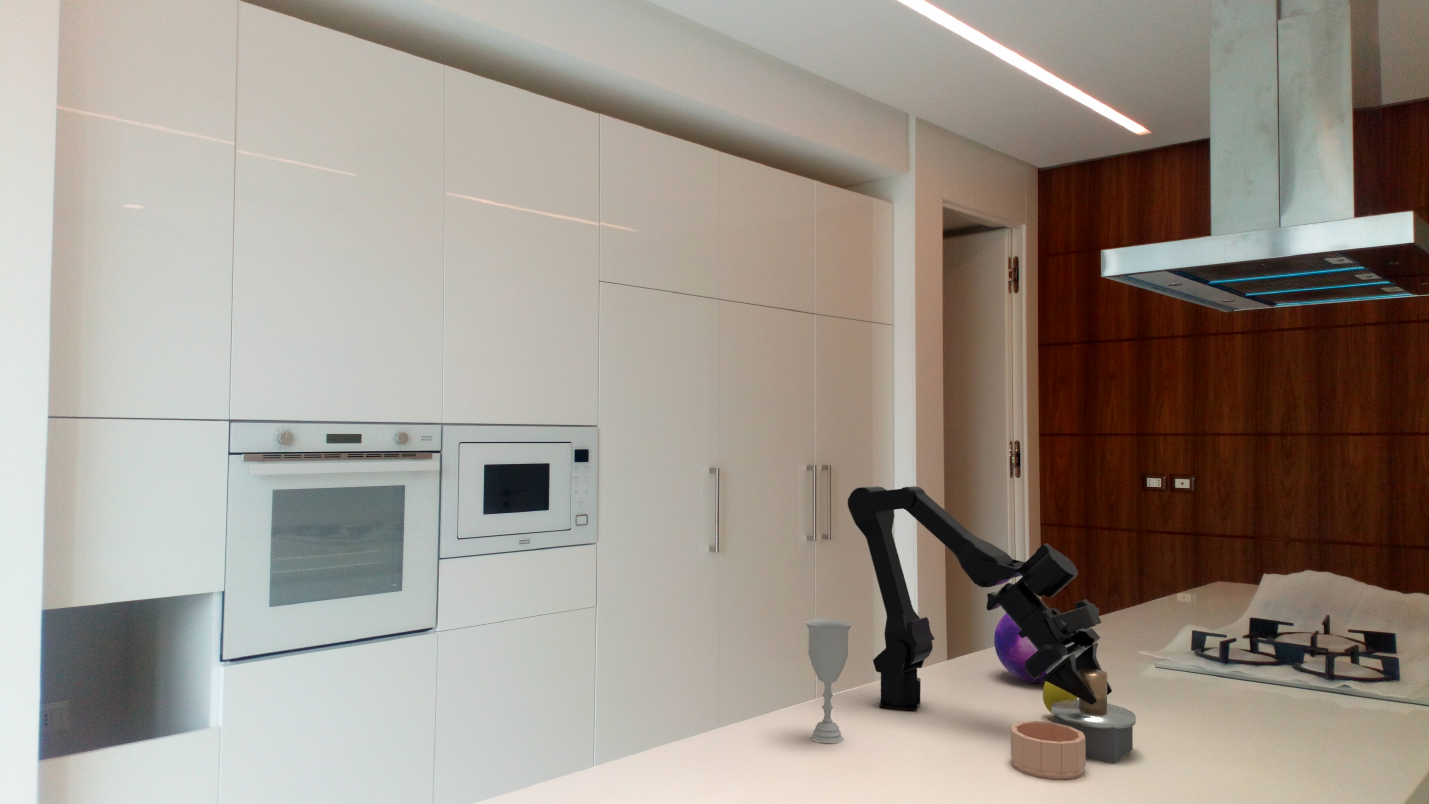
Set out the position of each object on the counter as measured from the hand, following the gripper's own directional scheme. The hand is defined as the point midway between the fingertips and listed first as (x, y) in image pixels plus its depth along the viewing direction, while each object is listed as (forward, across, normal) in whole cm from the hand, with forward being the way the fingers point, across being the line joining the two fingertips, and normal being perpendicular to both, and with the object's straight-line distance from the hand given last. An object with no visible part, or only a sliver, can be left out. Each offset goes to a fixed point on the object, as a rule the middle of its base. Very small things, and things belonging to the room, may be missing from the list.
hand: (1102, 697), depth 139 cm
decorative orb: (-11, +33, +22) cm, 42 cm away
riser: (+5, 0, +7) cm, 8 cm away
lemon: (-2, +12, +13) cm, 18 cm away
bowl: (+3, -12, +8) cm, 15 cm away
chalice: (-18, -24, +30) cm, 43 cm away
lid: (+1, 0, +3) cm, 3 cm away
